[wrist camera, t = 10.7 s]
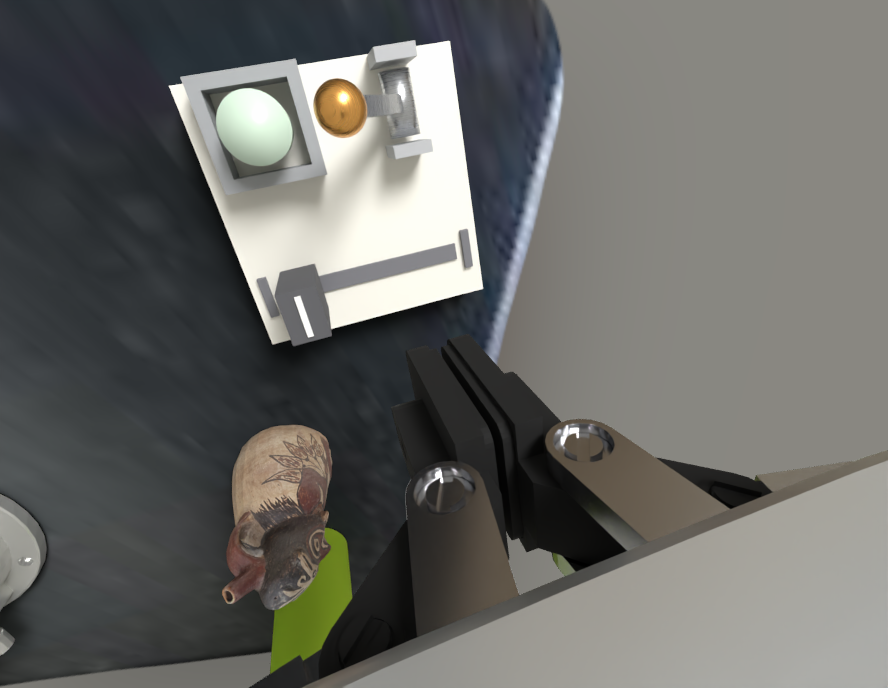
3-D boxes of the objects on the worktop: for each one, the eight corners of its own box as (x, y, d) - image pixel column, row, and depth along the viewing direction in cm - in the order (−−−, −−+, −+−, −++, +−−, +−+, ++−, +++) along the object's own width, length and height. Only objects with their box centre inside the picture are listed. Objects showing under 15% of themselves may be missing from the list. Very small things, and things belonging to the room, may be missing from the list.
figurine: (310, 503, 36) (309, 649, 26) (221, 484, 33) (181, 641, 23) (347, 437, 35) (362, 565, 24) (257, 410, 32) (231, 543, 21)
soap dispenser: (332, 509, 37) (351, 833, 20) (355, 560, 41) (389, 876, 23) (263, 534, 36) (220, 895, 19) (293, 584, 40) (279, 931, 22)
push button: (301, 157, 22) (300, 158, 20) (240, 169, 21) (232, 172, 19) (281, 88, 20) (278, 82, 18) (215, 100, 20) (203, 94, 18)
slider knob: (328, 307, 26) (332, 336, 22) (295, 316, 26) (293, 347, 22) (314, 263, 25) (315, 286, 21) (279, 271, 25) (274, 296, 21)
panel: (468, 276, 32) (497, 301, 27) (276, 326, 29) (269, 363, 25) (435, 51, 25) (465, 30, 20) (185, 92, 23) (151, 79, 18)
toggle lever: (427, 131, 23) (363, 150, 16) (393, 138, 24) (316, 158, 17) (416, 67, 22) (341, 54, 15) (380, 75, 23) (291, 67, 15)
